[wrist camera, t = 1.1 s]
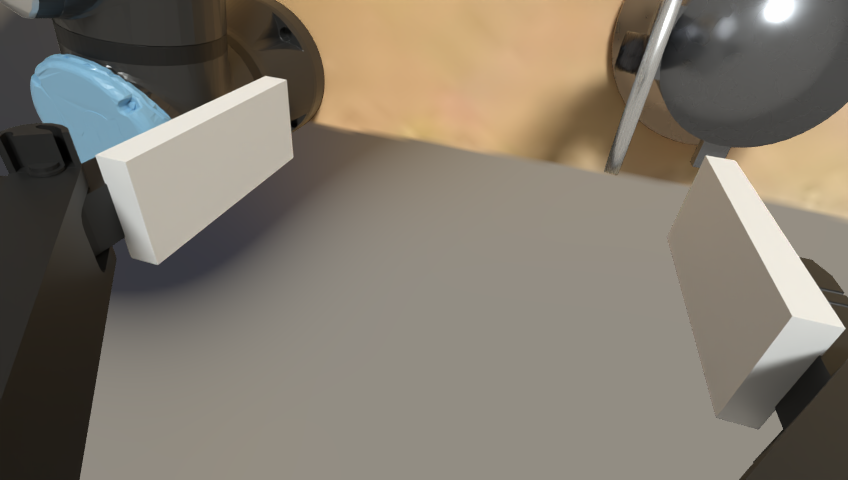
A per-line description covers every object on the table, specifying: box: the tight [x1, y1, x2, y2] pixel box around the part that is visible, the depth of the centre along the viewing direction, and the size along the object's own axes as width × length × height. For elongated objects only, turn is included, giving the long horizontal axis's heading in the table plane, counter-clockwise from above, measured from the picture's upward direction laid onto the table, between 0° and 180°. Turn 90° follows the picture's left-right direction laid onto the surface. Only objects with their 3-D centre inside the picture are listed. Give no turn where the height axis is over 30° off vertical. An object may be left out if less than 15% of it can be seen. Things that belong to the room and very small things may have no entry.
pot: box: [612, 0, 848, 168], centre depth 36 cm, size 19×19×9 cm
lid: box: [604, 0, 682, 175], centre depth 28 cm, size 14×14×2 cm
